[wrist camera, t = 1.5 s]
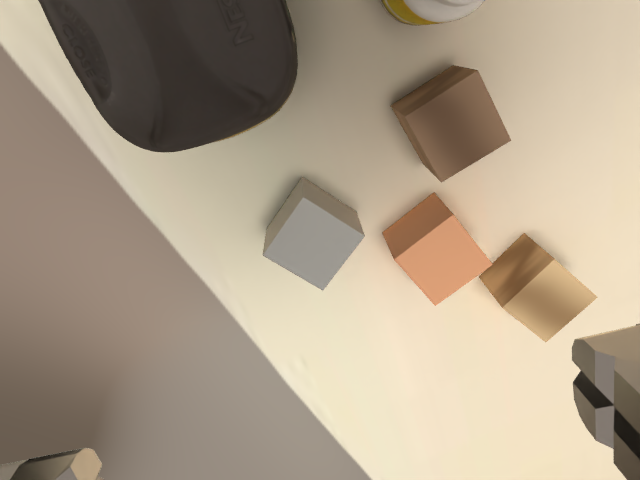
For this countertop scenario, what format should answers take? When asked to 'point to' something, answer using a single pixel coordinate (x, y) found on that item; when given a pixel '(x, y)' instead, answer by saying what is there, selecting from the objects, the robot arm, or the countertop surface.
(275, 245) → the grey cube
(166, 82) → the coffee jar
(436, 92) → the walnut cube
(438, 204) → the terracotta cube
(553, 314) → the oak cube
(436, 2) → the supplement bottle
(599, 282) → the countertop surface
